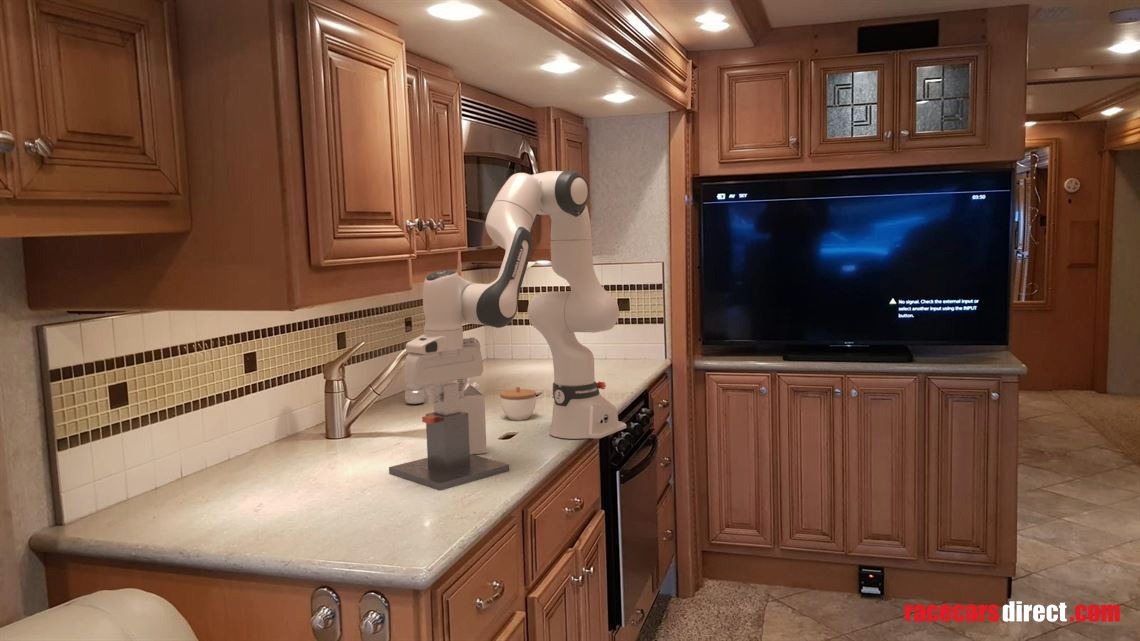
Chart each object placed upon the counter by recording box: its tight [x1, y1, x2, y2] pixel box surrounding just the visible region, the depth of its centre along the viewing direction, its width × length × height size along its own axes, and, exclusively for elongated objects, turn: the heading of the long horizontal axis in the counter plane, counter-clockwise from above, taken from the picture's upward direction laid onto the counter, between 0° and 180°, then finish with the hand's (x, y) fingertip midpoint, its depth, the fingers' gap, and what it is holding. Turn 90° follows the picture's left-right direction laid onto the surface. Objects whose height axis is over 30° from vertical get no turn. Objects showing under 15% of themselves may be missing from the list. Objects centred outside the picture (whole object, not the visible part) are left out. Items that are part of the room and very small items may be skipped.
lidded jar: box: [499, 386, 537, 421], centre depth 261 cm, size 11×11×9 cm
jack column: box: [432, 381, 460, 417], centre depth 204 cm, size 4×4×18 cm
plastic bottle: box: [404, 382, 426, 405], centre depth 284 cm, size 6×7×20 cm
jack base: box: [388, 411, 510, 491], centre depth 204 cm, size 20×20×14 cm
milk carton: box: [459, 378, 488, 455], centre depth 222 cm, size 7×7×19 cm
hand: (446, 400), depth 203 cm, fingers open, 6 cm apart
